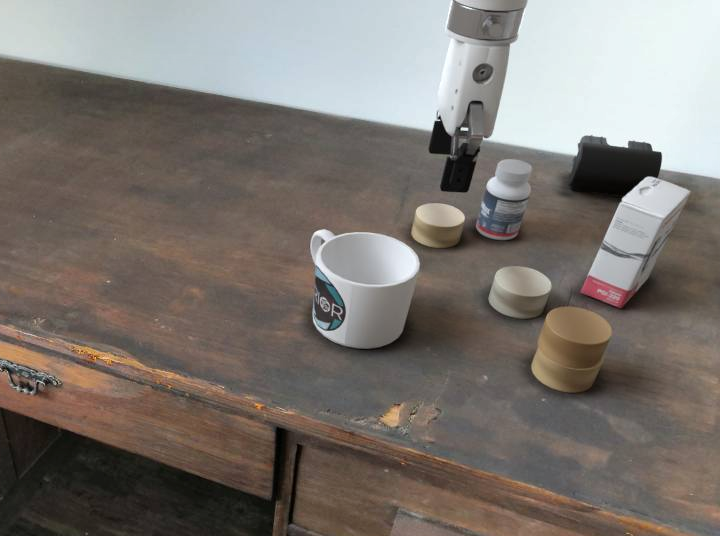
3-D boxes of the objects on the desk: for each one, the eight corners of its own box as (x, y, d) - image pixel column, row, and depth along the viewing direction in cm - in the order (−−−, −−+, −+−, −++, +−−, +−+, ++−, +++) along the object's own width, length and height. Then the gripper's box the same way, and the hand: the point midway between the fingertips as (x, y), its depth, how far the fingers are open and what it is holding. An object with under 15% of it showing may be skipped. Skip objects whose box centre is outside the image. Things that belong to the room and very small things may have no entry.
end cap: (566, 198, 106) (582, 151, 101) (564, 175, 111) (580, 129, 106) (645, 209, 103) (665, 162, 99) (639, 185, 109) (658, 139, 104)
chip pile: (583, 355, 80) (603, 307, 76) (601, 394, 76) (623, 346, 72) (522, 351, 81) (539, 304, 77) (536, 391, 76) (555, 343, 72)
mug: (427, 328, 83) (442, 265, 78) (355, 364, 79) (367, 299, 73) (342, 272, 92) (350, 211, 86) (272, 301, 87) (277, 239, 82)
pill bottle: (474, 218, 101) (491, 154, 96) (515, 222, 101) (535, 158, 95) (476, 238, 98) (494, 173, 92) (519, 243, 97) (540, 177, 91)
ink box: (623, 311, 86) (666, 216, 78) (578, 294, 89) (616, 200, 81) (650, 280, 91) (693, 187, 83) (608, 264, 93) (645, 172, 86)
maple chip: (455, 224, 100) (460, 204, 98) (463, 249, 96) (468, 228, 94) (408, 222, 100) (412, 201, 98) (414, 247, 96) (418, 225, 94)
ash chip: (536, 289, 89) (544, 267, 87) (549, 320, 85) (558, 297, 83) (483, 286, 90) (490, 264, 88) (494, 317, 85) (501, 294, 83)
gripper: (540, 49, 74) (493, 209, 86) (503, -3, 87) (466, 142, 99) (461, 45, 75) (424, 205, 86) (436, -6, 88) (407, 138, 99)
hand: (447, 171), depth 92 cm, fingers open, 9 cm apart
